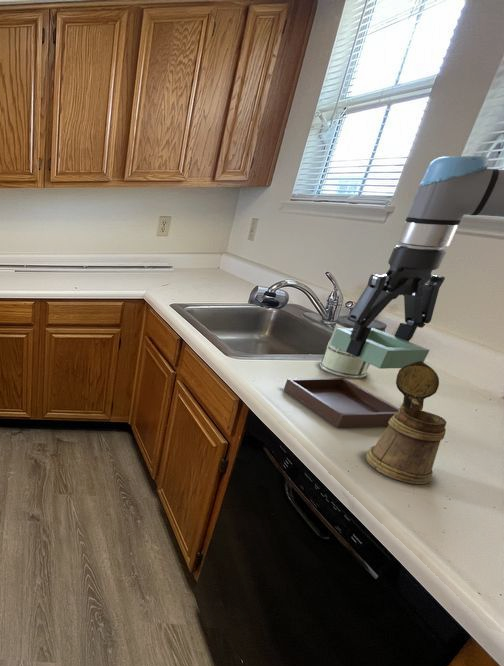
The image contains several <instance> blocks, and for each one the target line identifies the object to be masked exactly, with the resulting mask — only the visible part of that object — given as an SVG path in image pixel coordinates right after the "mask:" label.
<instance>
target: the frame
mask: <svg viewBox="0 0 504 666" xmlns="http://www.w3.org/2000/svg"><path fill="white" fill-rule="evenodd" d="M352 330H353V328H337V329H336V331H335V334H334V337H333V339H332V342H331V344H330V345H332V346H334V347H336V348H338V349H340V350H342V351H344V352H346V350H347V348H348V345H349V343H350V341H351V339H350V335H351V333H352ZM346 353H348V352H346ZM429 353H430V349H428V348H425V347H423V346H420V345H419V344H416V343H413V342H410V341H409V342H408V341H406V340H403V339H401V338H398V337H395V335H392V334H390V333H388V332H385V331H384V332H383V331H380V330H378V329H375V328H371V330H370V333H369V335H368V338H367V340H366V342H365V344H364V347H363V349H362V352H361V354H360V356H359V357H357V358H359V359H361V360H363V361H365V362H367V363H369V364H370V365H371V366H374V367H375V368H377V369H379V370H381V369H401V368H403V367H404V366H407V365H409V364H411V363H414V362H418V361H422V362H423V363H425V360H426V358H427V356H428V354H429ZM348 354H350V353H348ZM351 355H352V354H351ZM353 356H354V355H353ZM355 357H356V356H355Z"/></svg>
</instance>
